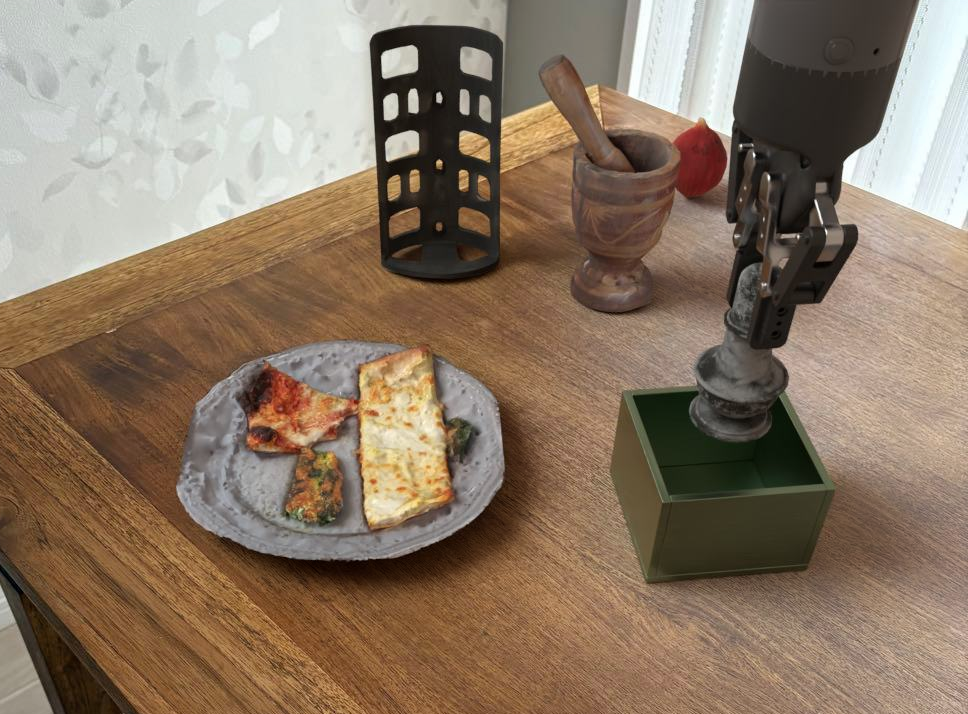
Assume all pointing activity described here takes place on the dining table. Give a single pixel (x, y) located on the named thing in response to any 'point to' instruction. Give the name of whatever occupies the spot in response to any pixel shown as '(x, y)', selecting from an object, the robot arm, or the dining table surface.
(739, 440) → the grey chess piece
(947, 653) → the dining table surface
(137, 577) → the dining table surface
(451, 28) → the holder
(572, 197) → the mortar and pestle
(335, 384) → the food plate
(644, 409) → the box
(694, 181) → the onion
